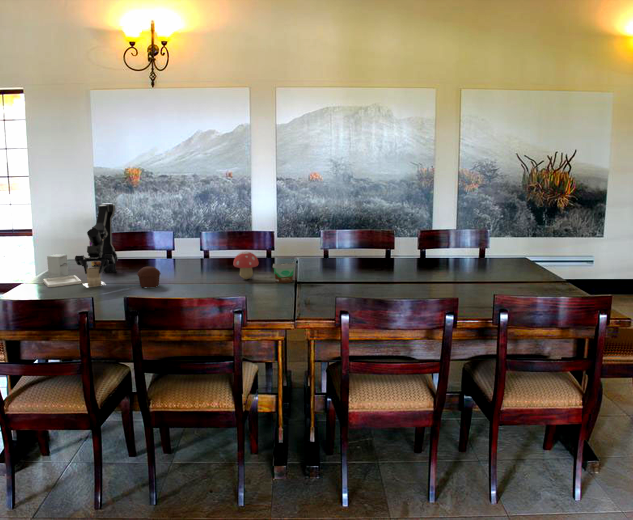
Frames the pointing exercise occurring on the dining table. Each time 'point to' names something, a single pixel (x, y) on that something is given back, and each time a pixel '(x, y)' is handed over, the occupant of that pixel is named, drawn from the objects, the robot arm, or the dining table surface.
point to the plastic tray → (62, 281)
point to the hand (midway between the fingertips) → (92, 273)
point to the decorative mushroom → (246, 264)
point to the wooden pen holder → (93, 276)
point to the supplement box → (57, 265)
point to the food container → (283, 272)
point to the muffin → (149, 276)
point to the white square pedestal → (93, 286)
